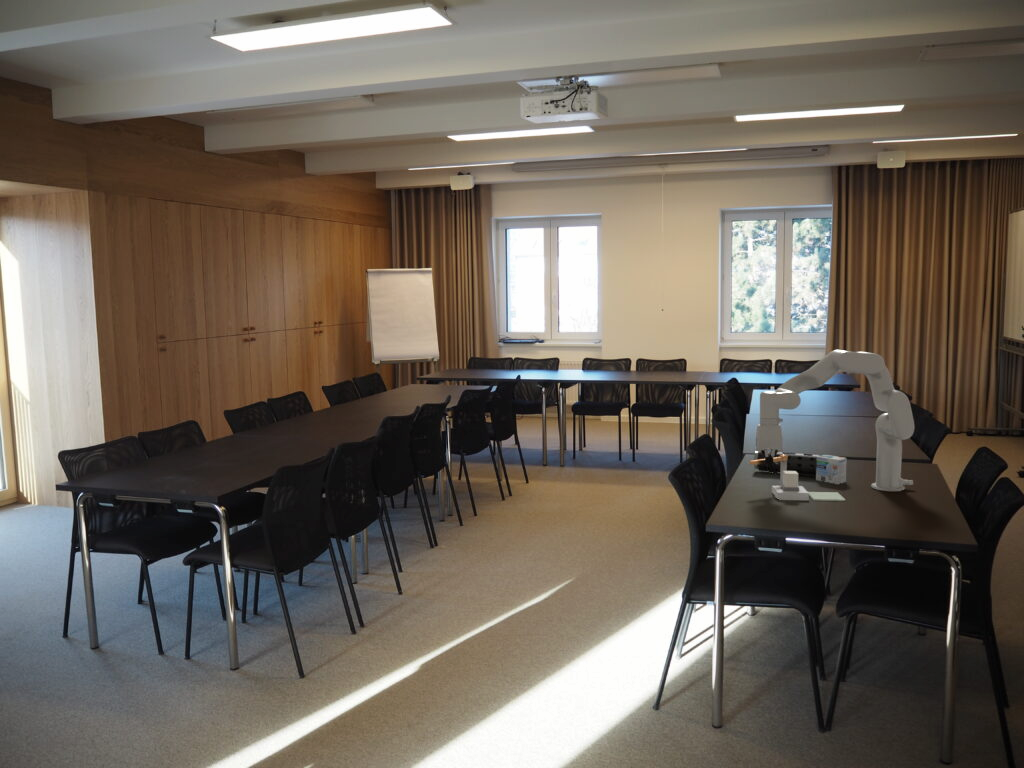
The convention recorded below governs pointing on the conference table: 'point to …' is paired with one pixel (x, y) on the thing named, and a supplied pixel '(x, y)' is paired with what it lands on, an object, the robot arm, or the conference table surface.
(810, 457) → the muzzle brake
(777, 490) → the socket block
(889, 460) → the robot arm
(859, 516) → the conference table surface
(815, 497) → the mat
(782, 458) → the wooden bar
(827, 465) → the light bulb box
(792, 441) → the conference table surface
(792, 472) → the plug
